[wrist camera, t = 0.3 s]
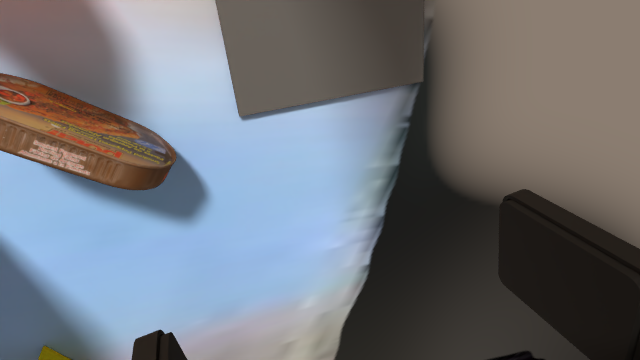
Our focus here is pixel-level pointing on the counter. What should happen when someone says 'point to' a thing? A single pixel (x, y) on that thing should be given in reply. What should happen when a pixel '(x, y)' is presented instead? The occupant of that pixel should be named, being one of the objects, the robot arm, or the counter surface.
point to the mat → (319, 49)
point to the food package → (51, 355)
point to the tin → (79, 137)
